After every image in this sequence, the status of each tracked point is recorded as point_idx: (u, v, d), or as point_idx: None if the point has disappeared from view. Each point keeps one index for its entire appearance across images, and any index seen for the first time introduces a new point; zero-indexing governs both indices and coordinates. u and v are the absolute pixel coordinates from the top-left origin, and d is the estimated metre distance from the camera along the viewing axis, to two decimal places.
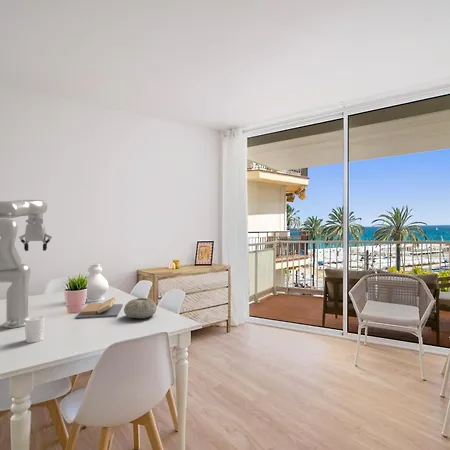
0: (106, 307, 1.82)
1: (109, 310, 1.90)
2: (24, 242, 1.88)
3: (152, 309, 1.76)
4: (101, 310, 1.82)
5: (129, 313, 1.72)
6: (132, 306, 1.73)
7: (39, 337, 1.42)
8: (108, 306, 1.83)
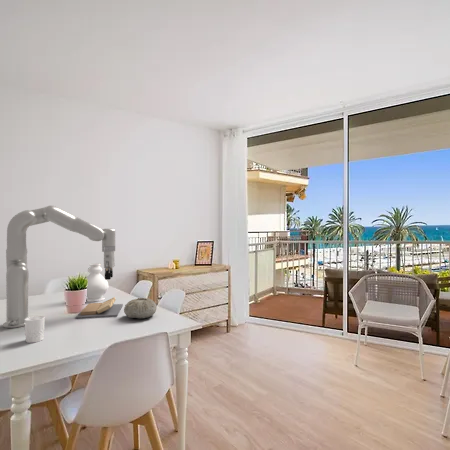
0: (106, 307, 1.82)
1: (109, 310, 1.90)
2: (109, 271, 1.88)
3: (152, 309, 1.76)
4: (101, 310, 1.82)
5: (129, 313, 1.72)
6: (132, 306, 1.73)
7: (39, 337, 1.42)
8: (108, 306, 1.83)
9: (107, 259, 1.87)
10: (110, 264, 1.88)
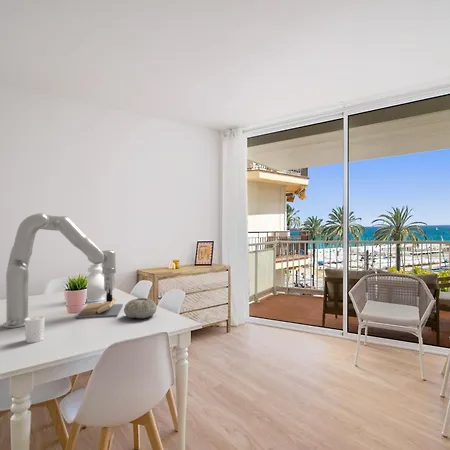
0: (106, 307, 1.82)
1: (109, 310, 1.90)
2: (110, 293, 1.91)
3: (152, 309, 1.76)
4: (101, 310, 1.82)
5: (129, 313, 1.72)
6: (132, 306, 1.73)
7: (39, 337, 1.42)
8: (108, 306, 1.83)
9: (107, 281, 1.87)
10: (110, 286, 1.88)
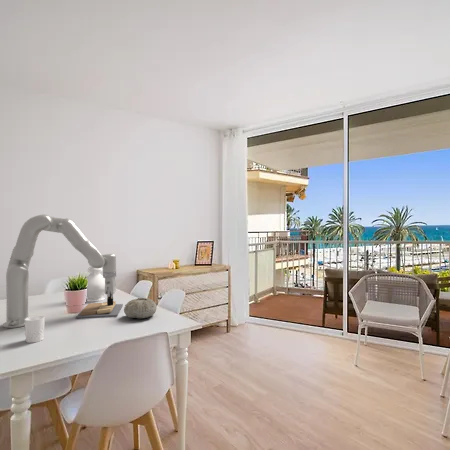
0: (106, 310, 1.82)
1: None
2: (111, 297, 1.91)
3: (152, 309, 1.76)
4: (101, 311, 1.82)
5: (129, 313, 1.72)
6: (132, 306, 1.73)
7: (39, 337, 1.42)
8: (109, 310, 1.83)
9: (108, 285, 1.88)
10: (111, 290, 1.88)
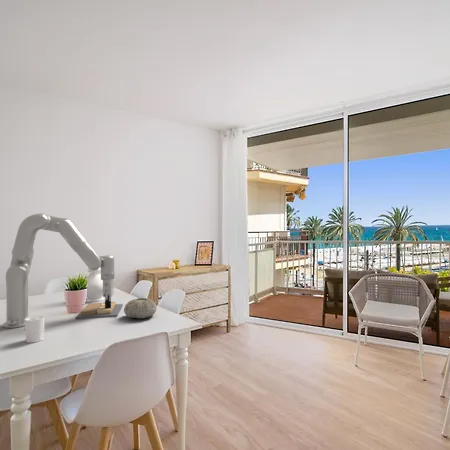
0: (106, 311, 1.82)
1: None
2: (109, 300, 1.86)
3: (152, 309, 1.76)
4: (101, 311, 1.82)
5: (129, 313, 1.72)
6: (132, 306, 1.73)
7: (39, 337, 1.42)
8: (109, 311, 1.83)
9: (106, 288, 1.82)
10: (109, 293, 1.83)
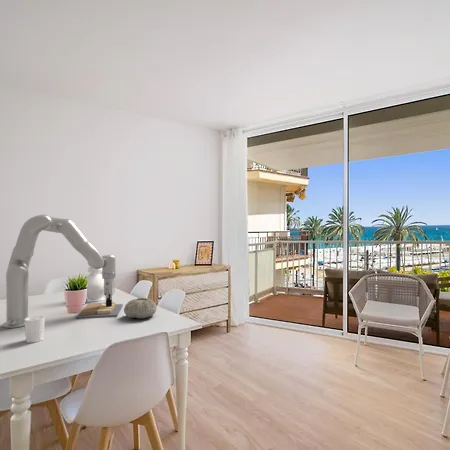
0: (106, 311, 1.82)
1: None
2: (110, 298, 1.90)
3: (152, 309, 1.76)
4: (101, 312, 1.82)
5: (129, 313, 1.72)
6: (132, 306, 1.73)
7: (39, 337, 1.42)
8: (109, 311, 1.83)
9: (107, 286, 1.87)
10: (110, 291, 1.87)
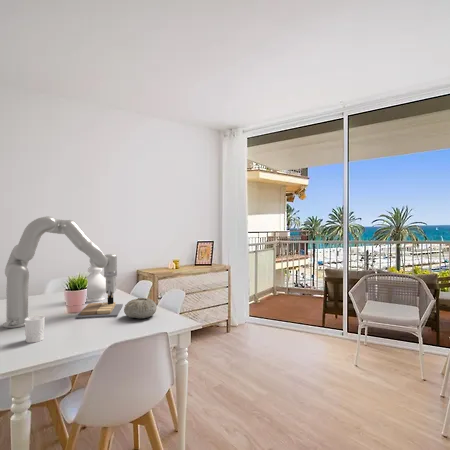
0: (106, 311, 1.82)
1: None
2: (112, 296, 1.96)
3: (152, 309, 1.76)
4: (101, 312, 1.82)
5: (129, 313, 1.72)
6: (132, 306, 1.73)
7: (39, 337, 1.42)
8: (109, 311, 1.83)
9: (109, 285, 1.93)
10: (112, 289, 1.93)
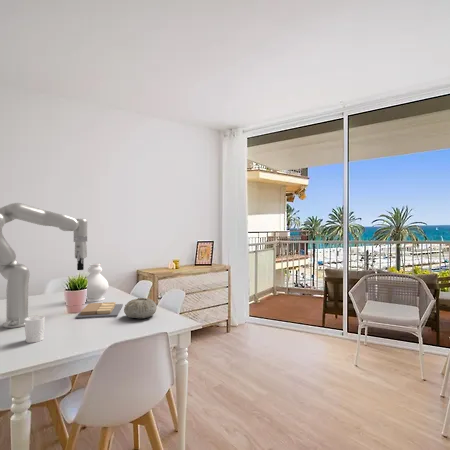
0: (106, 311, 1.82)
1: None
2: (81, 262, 1.90)
3: (152, 309, 1.76)
4: (101, 312, 1.82)
5: (129, 313, 1.72)
6: (132, 306, 1.73)
7: (39, 337, 1.42)
8: (109, 311, 1.83)
9: (78, 249, 1.86)
10: (81, 254, 1.87)
